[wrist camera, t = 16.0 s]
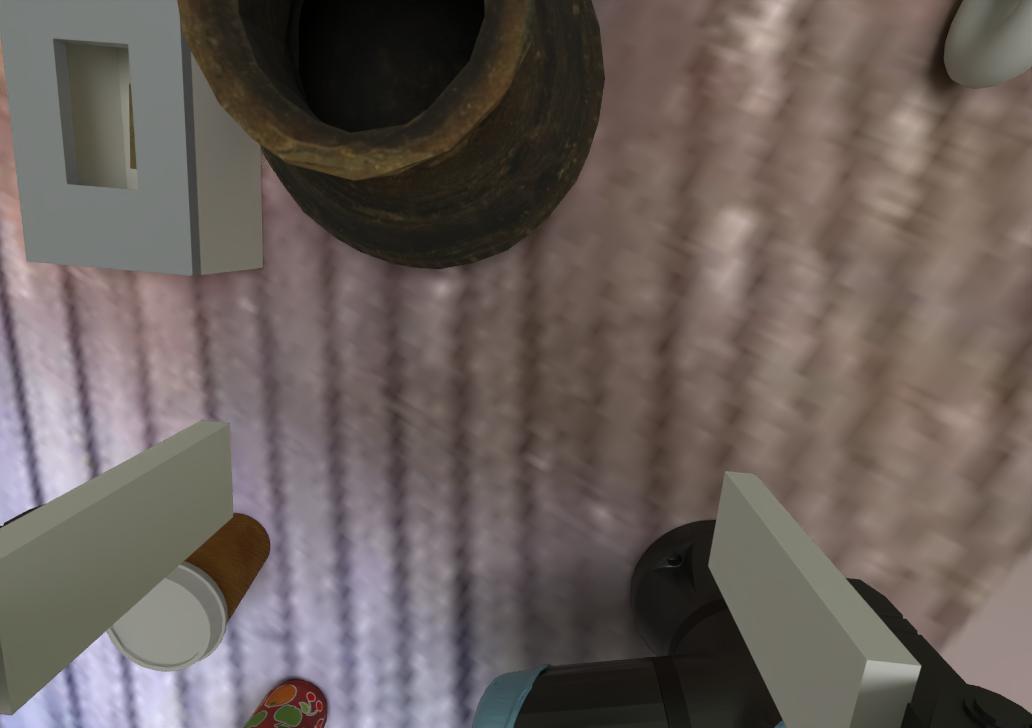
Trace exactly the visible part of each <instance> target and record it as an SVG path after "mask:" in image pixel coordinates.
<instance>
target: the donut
mask: <svg viewBox="0 0 1032 728" xmlns="http://www.w3.org/2000/svg"><path fill="white" fill-rule="evenodd" d="M944 64H945V67H946V70H947V73H948V75H949V76H950V78H951V79H952V80H953V81H955V82H957V83H959V84H961V85H963V86H964V87H966V88H972V89H977V88H986V87H992V86H997V85H1000V84H1002V83H1004V82H1006V81H1008V80H1010V79H1012V78H1014V77H1016V76H1018V75H1020V74H1022V73H1023V72H1025V71H1026V70H1028V69H1029V68H1030V67H1031V66H1032V0H963V1H962V3H961V5H960V7H959V9H958V11H957V13H956V15H955V17H954V19H953V21H952V24H951V26H950V29H949V32H948V35H947V39H946V42H945V49H944Z"/></svg>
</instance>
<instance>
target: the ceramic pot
mask: <svg viewBox="0 0 1032 728" xmlns="http://www.w3.org/2000/svg"><path fill="white" fill-rule="evenodd" d="M177 3H178V8H179V14H180V20H181V25H182V31H183V36H184V39H185V41H186V43H187V45H188V47H189V48H190V50H191V52H192V54H193V56H194V58H195V60H196V61H197V63H198V65H199V67H200V69H201V71H202V73H203V74H204V76H205V78H206V80H207V82H208V84H209V86H210V88H211V89H212V91H213V93H214V95H215V97H216V99H217V101H218V102H219V104H220V105H221V106H222V107H223V109H224V110H225V111H226V112H227V113H228V114H229V115H230V116H231V117H232V118H233V119H234V120H235V121H236V122H237V123H238V124H239V125H240V126H241V128H242V129H243V130H244V131H245V132H246V133H247V134H248V135H249V136H250V137H251V138H252V139H253V140H255V141H256V142H258V143H259V144H260V147H261V149H262V151H263V154H264V156H265V158H266V160H267V161H268V163H269V164H270V166H271V167H272V169H273V170H274V172H275V173H276V174H277V176H278V177H279V179H280V180H281V182H282V183H283V185H284V186H285V188H286V189H287V191H288V192H289V193H290V195H291V196H292V197H293V199H294V200H295V201H296V202H297V204H298V205H299V206H300V208H301V209H302V210H303V212H304V213H305V214H307V215H308V216H309V217H311V218H312V219H313V220H314V221H316V222H317V223H318V224H319V225H321V226H322V227H323V228H324V229H326V230H327V231H328V232H329V233H331V234H332V235H333V236H334V237H336V238H337V239H339V240H340V241H342V242H344V243H346V244H348V245H349V246H351V247H353V248H355V249H356V250H358V251H360V252H362V253H365V254H368V255H371V256H374V257H376V258H379V259H382V260H385V261H388V262H390V263H394V264H399V265H404V266H409V267H417V268H432V269H442V268H447V267H453V266H458V265H464V264H469V263H474V262H476V261H479V260H482V259H485V258H487V257H490V256H493V255H495V254H498V253H501V252H504V251H506V250H508V249H509V248H511V247H512V246H513V245H515V244H516V243H518V242H519V241H520V240H522V239H523V238H525V237H526V236H527V235H529V234H530V233H531V232H532V231H533V230H534V229H536V228H537V227H538V226H539V225H540V224H541V223H542V222H543V221H545V220H546V219H547V218H548V216H549V215H550V214H551V213H552V211H553V210H554V209H555V208H556V206H557V205H558V204H559V203H560V201H561V200H562V199H563V198H564V196H565V195H566V194H567V193H568V191H569V190H570V189H571V187H572V186H573V185H574V184H575V182H576V181H577V179H578V176H579V174H580V172H581V170H582V167H583V165H584V163H585V160H586V158H587V156H588V154H589V151H590V147H591V144H592V141H593V138H594V134H595V131H596V128H597V125H598V121H599V115H600V108H601V101H602V95H603V88H604V81H605V75H604V65H603V56H602V46H601V37H600V27H599V24H598V20H597V17H596V14H595V11H594V7H593V4H592V1H591V0H177Z"/></svg>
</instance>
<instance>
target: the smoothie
mask: <svg viewBox="0 0 1032 728" xmlns="http://www.w3.org/2000/svg"><path fill="white" fill-rule="evenodd" d="M326 721H327V712H326V701H325V698H324V696H323V694H322V693H321V692H320V690H319V689H318V688H316V687H315V686H314V685H312V684H310V683H308V682H305V681H300V680H292V681H287V682H285V683H283V684H281V685H280V686H279V687H277V688H275V689H273V690H271V691H270V692H269V693H268V694H267V695H266V697H265V698H264V699H263V701H262V702H261V704H260V705H259V706H258V708H257V709H256V711H255V712H254V714H253V715H252V716H251V718H250V719H249V721H248V722H247V724H246V725H245V726H244V728H324V726H325V723H326Z"/></svg>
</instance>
